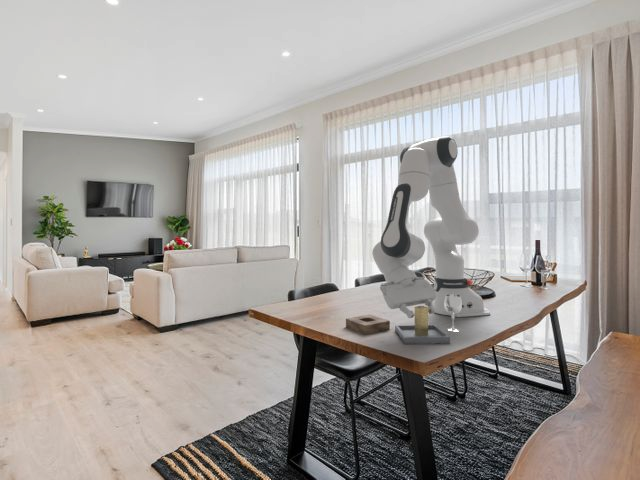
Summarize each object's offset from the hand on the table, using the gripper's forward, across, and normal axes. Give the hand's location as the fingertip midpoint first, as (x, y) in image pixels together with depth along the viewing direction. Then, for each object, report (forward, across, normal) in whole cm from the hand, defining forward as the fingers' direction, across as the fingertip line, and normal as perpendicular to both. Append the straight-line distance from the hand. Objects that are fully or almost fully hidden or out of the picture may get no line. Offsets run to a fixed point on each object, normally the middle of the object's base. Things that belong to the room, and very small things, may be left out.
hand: (422, 314), depth 122 cm
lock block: (-8, -8, +18) cm, 21 cm away
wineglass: (+5, +15, +5) cm, 17 cm away
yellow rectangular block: (+4, 0, +5) cm, 7 cm away
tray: (+5, 0, +6) cm, 7 cm away
